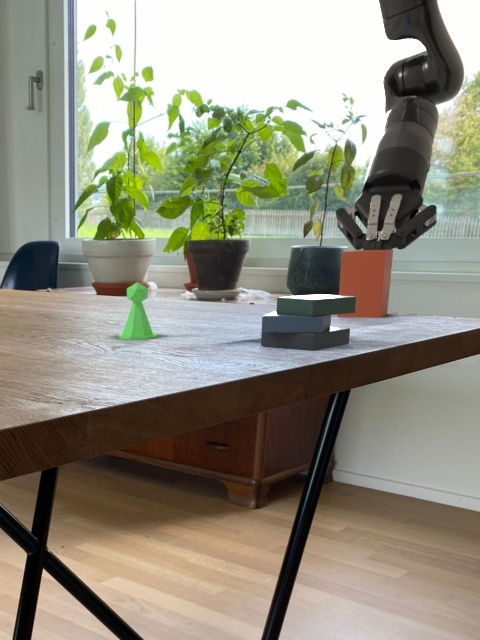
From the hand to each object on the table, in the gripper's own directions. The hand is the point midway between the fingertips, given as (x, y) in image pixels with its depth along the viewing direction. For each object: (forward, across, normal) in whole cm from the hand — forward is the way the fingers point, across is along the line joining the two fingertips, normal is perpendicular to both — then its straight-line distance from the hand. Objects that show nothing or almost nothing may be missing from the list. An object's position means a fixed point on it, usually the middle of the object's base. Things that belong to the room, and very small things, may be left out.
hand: (371, 269), depth 104 cm
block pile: (+26, 0, -18) cm, 31 cm away
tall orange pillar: (+7, 0, +1) cm, 7 cm away
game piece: (+27, -17, -19) cm, 37 cm away
